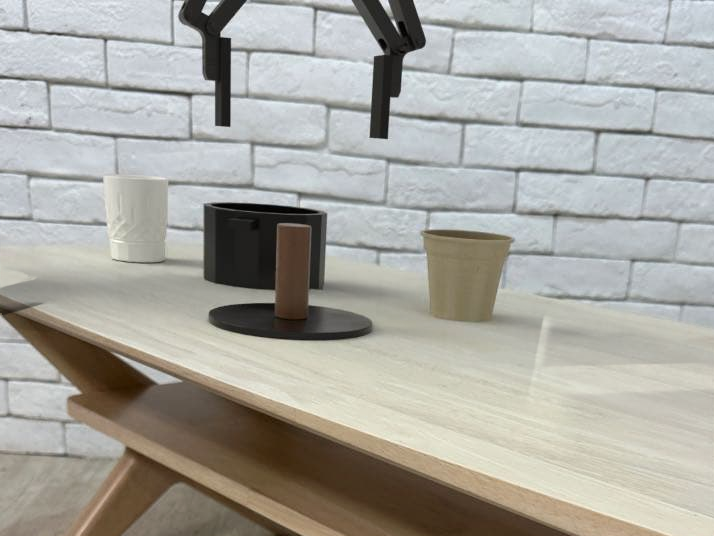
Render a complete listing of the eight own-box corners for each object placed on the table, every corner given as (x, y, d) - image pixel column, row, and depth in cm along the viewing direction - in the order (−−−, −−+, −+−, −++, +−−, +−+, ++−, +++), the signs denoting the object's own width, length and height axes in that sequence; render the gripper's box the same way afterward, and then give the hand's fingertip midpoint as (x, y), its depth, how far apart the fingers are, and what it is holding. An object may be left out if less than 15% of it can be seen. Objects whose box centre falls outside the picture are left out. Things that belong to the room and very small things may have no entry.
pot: (177, 290, 107) (176, 207, 104) (233, 270, 125) (234, 199, 121) (300, 302, 105) (303, 219, 102) (339, 281, 123) (343, 209, 120)
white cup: (181, 262, 128) (181, 180, 124) (127, 264, 122) (125, 178, 119) (146, 254, 133) (145, 175, 129) (93, 256, 127) (90, 173, 123)
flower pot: (437, 330, 96) (445, 238, 93) (399, 313, 104) (405, 227, 101) (521, 330, 100) (532, 241, 97) (478, 313, 108) (487, 230, 105)
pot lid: (183, 335, 85) (183, 222, 81) (237, 309, 99) (239, 212, 95) (353, 353, 83) (359, 239, 80) (384, 325, 97) (391, 226, 93)
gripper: (152, -212, 69) (158, 121, 77) (480, -148, 77) (455, 144, 85) (139, -184, 75) (146, 120, 83) (442, -129, 84) (422, 141, 92)
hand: (302, 133), depth 84 cm, fingers open, 13 cm apart
